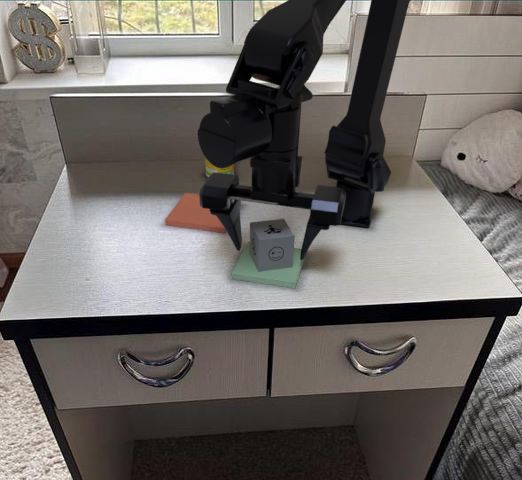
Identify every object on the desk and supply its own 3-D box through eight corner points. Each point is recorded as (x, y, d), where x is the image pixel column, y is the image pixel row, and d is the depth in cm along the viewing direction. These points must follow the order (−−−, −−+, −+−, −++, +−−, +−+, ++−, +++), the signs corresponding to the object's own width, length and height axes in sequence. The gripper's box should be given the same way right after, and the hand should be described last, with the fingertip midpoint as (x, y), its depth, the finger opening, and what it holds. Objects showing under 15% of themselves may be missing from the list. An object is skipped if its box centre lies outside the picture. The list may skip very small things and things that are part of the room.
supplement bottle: (221, 183, 96) (220, 129, 90) (199, 175, 99) (197, 122, 92) (239, 174, 100) (239, 121, 93) (218, 166, 102) (217, 115, 96)
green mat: (305, 255, 79) (306, 249, 78) (295, 288, 72) (295, 282, 71) (247, 246, 80) (247, 241, 79) (232, 278, 73) (231, 272, 73)
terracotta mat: (240, 205, 90) (240, 200, 89) (224, 233, 83) (224, 227, 82) (185, 198, 92) (185, 192, 91) (165, 225, 84) (164, 219, 84)
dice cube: (258, 271, 73) (259, 240, 70) (249, 253, 77) (249, 222, 73) (292, 267, 74) (294, 235, 71) (282, 249, 78) (283, 218, 74)
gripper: (357, 129, 69) (341, 235, 79) (220, 115, 71) (223, 219, 82) (348, 162, 60) (332, 275, 71) (194, 144, 63) (201, 255, 74)
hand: (270, 253), depth 75 cm, fingers open, 9 cm apart
